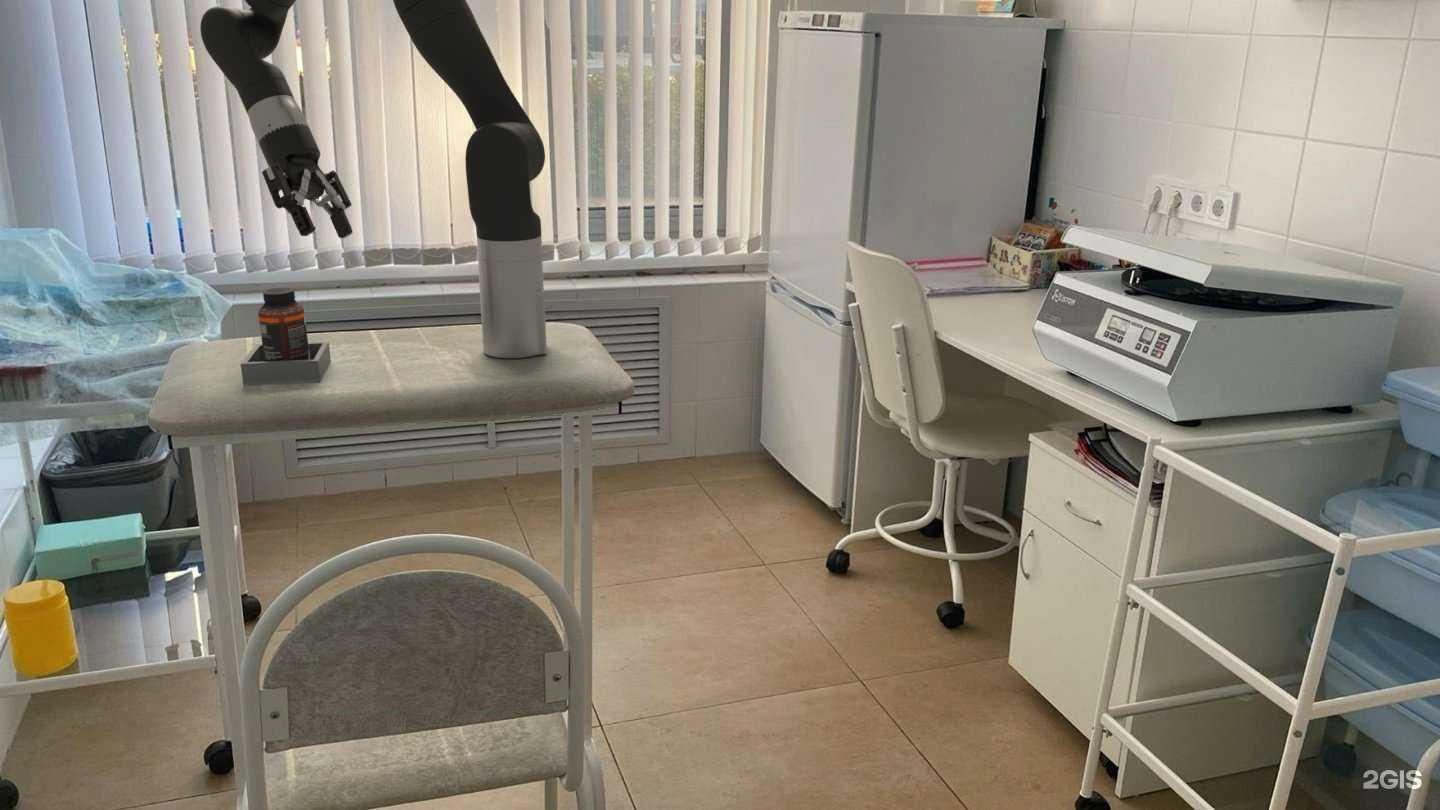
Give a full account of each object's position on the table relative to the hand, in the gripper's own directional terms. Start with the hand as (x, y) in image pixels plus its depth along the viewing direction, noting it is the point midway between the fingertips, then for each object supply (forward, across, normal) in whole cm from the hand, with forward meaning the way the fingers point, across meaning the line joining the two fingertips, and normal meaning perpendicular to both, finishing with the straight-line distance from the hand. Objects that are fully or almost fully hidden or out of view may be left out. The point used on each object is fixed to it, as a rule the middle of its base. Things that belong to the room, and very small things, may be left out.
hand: (328, 234), depth 166 cm
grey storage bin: (+18, -11, +8) cm, 22 cm away
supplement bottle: (+18, -11, +8) cm, 22 cm away
